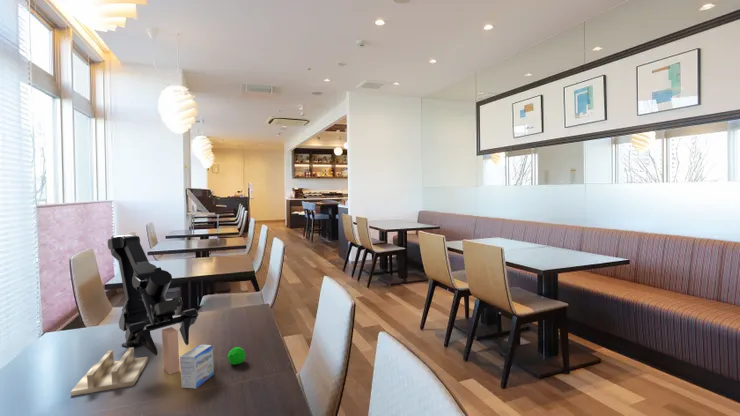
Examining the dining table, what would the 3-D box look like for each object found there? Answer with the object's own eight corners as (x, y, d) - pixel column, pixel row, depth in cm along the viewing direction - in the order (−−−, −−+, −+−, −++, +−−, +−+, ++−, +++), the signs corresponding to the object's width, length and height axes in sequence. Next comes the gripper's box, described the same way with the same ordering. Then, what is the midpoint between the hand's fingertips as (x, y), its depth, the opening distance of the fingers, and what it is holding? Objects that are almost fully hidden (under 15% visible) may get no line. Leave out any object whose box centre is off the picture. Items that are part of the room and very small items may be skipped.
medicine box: (195, 389, 96) (194, 357, 96) (180, 388, 97) (179, 356, 97) (214, 374, 104) (213, 344, 103) (200, 373, 105) (199, 343, 104)
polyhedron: (249, 361, 112) (248, 345, 112) (238, 368, 107) (238, 352, 107) (235, 359, 113) (234, 343, 113) (224, 366, 109) (223, 350, 109)
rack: (94, 368, 110) (93, 352, 109) (148, 360, 114) (147, 345, 114) (70, 396, 94) (69, 378, 94) (133, 385, 99) (132, 368, 99)
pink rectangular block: (164, 369, 107) (162, 329, 107) (173, 366, 109) (171, 327, 109) (170, 374, 104) (168, 333, 104) (179, 371, 106) (177, 330, 106)
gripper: (126, 296, 101) (142, 345, 95) (194, 282, 116) (212, 325, 109) (119, 318, 107) (133, 366, 100) (185, 302, 121) (201, 344, 114)
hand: (172, 349), depth 106 cm, fingers open, 8 cm apart
